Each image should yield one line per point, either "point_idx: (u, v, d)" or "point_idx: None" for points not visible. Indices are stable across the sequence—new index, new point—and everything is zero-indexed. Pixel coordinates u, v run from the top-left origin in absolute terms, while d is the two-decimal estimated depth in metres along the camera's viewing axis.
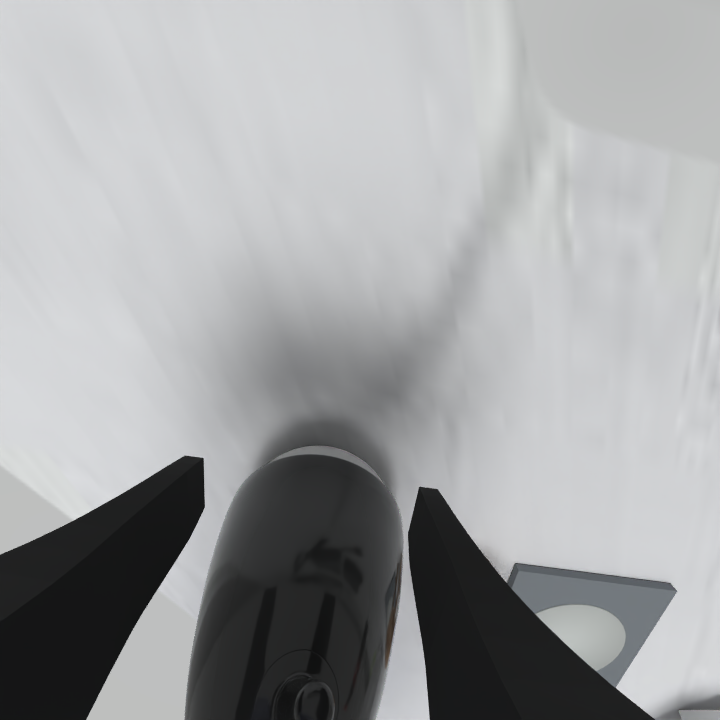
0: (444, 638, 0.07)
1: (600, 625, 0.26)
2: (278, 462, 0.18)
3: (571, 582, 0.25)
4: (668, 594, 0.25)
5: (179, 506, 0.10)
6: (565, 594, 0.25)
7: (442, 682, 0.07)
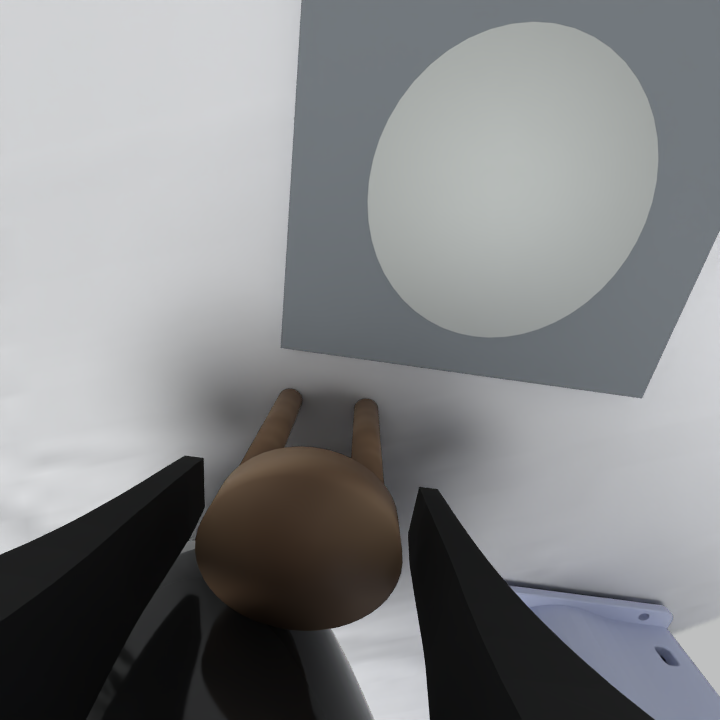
0: (444, 638, 0.07)
1: (440, 124, 0.10)
2: None
3: (302, 233, 0.11)
4: None
5: (179, 507, 0.10)
6: (339, 239, 0.11)
7: (442, 682, 0.07)
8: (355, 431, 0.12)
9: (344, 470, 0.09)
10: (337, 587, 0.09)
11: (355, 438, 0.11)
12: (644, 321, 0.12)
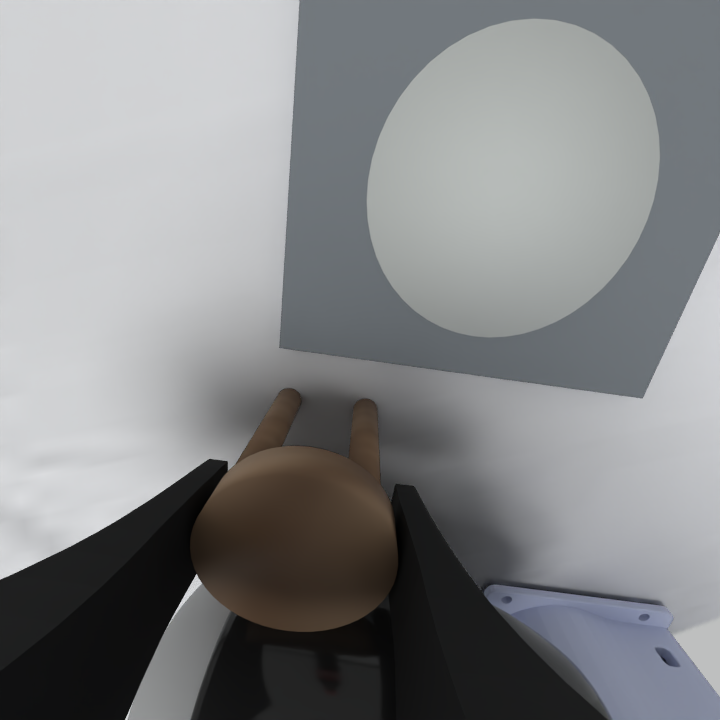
0: (409, 634, 0.07)
1: (440, 122, 0.10)
2: None
3: (300, 232, 0.11)
4: None
5: None
6: (338, 238, 0.11)
7: (406, 677, 0.07)
8: (353, 431, 0.12)
9: (339, 470, 0.09)
10: (332, 588, 0.09)
11: (352, 438, 0.11)
12: (645, 321, 0.12)
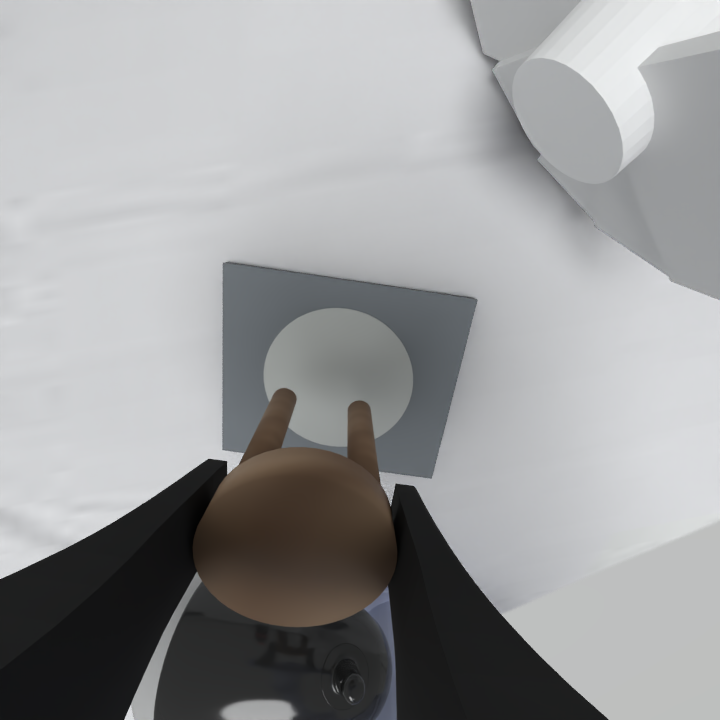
0: (410, 634, 0.07)
1: (297, 348, 0.19)
2: None
3: (230, 394, 0.21)
4: (230, 272, 0.18)
5: (205, 510, 0.10)
6: (250, 397, 0.21)
7: (407, 678, 0.07)
8: (350, 432, 0.12)
9: (345, 471, 0.09)
10: (331, 584, 0.09)
11: (350, 439, 0.12)
12: (423, 439, 0.21)
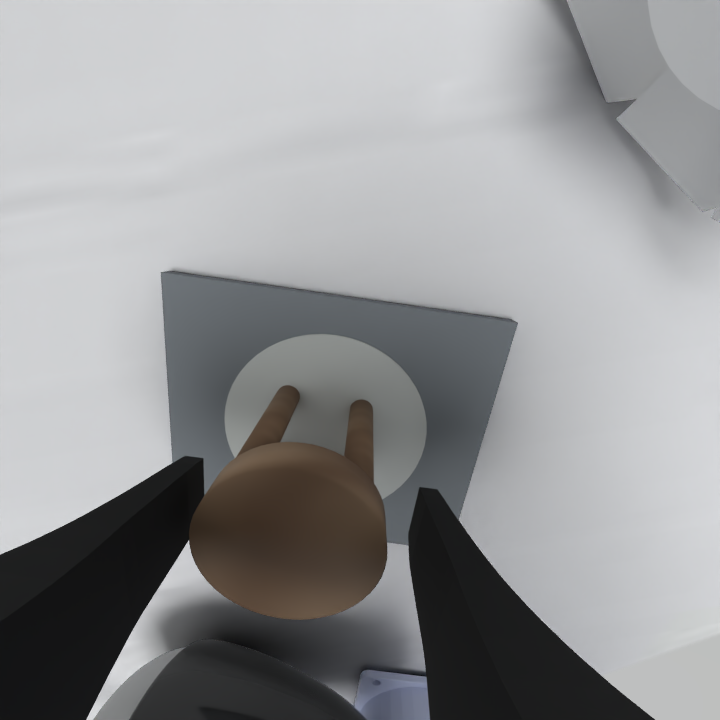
0: (444, 638, 0.07)
1: (269, 387, 0.14)
2: None
3: (182, 446, 0.15)
4: (172, 286, 0.13)
5: (179, 507, 0.10)
6: (209, 450, 0.15)
7: (442, 682, 0.07)
8: (349, 430, 0.12)
9: (336, 467, 0.09)
10: (322, 579, 0.10)
11: (348, 437, 0.12)
12: None
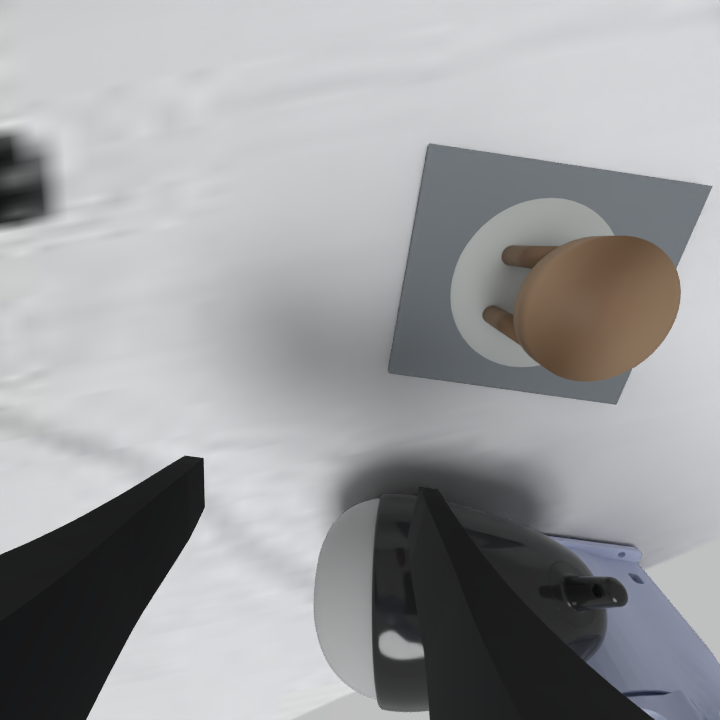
0: (443, 638, 0.07)
1: (496, 248, 0.17)
2: (383, 671, 0.15)
3: (409, 305, 0.19)
4: (436, 155, 0.16)
5: (179, 507, 0.10)
6: (431, 309, 0.19)
7: (442, 682, 0.07)
8: None
9: None
10: (619, 340, 0.13)
11: None
12: None
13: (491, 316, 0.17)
